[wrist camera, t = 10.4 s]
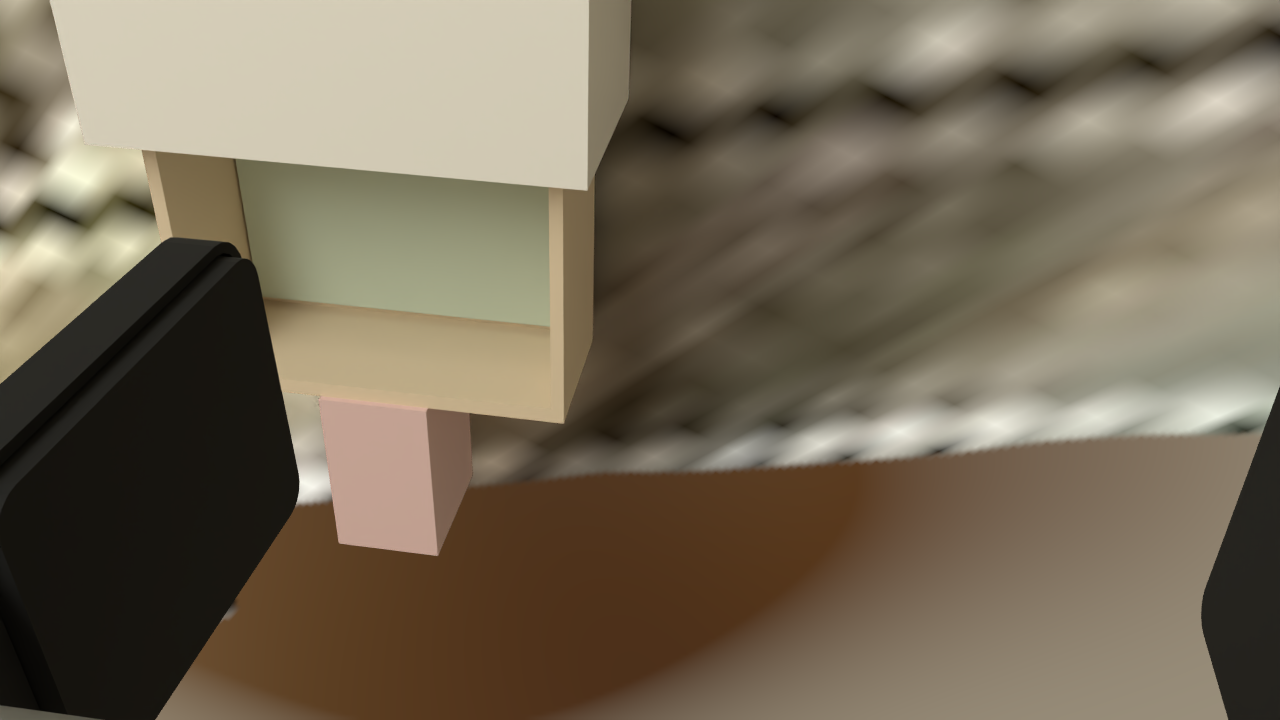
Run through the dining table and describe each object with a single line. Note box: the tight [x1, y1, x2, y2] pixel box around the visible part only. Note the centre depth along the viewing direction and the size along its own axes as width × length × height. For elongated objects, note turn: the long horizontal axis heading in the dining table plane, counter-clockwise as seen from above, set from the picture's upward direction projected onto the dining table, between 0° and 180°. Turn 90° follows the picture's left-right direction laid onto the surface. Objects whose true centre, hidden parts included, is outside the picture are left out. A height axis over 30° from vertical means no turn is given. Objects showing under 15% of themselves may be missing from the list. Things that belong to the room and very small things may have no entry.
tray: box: [142, 150, 595, 556], centre depth 36 cm, size 23×12×5 cm, turn 178°
